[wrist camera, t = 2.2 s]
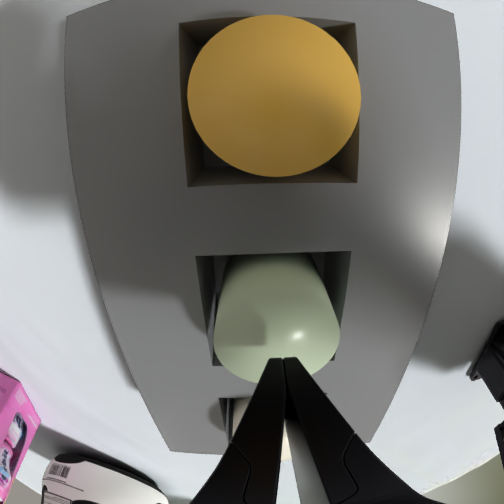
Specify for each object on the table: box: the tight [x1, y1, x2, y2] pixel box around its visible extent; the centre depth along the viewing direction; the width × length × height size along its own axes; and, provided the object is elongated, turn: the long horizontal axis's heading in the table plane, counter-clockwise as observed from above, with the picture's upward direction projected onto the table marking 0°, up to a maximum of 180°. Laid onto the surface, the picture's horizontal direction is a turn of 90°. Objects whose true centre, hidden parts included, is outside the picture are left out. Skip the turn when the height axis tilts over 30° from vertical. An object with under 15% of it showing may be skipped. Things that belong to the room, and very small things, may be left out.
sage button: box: [213, 252, 340, 383], centre depth 11 cm, size 4×4×4 cm
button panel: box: [64, 0, 461, 455], centre depth 13 cm, size 13×23×4 cm, turn 2°
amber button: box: [187, 15, 361, 177], centre depth 8 cm, size 4×4×4 cm
